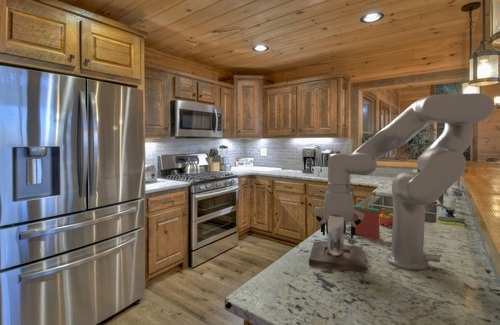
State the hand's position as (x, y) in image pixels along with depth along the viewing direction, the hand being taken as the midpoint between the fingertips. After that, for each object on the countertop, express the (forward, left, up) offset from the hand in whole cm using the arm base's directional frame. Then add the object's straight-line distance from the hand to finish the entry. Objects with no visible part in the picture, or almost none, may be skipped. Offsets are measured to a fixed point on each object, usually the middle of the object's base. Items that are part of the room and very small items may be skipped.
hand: (337, 235), depth 99 cm
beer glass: (+1, 0, -7) cm, 8 cm away
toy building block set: (-19, -44, -9) cm, 49 cm away
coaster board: (0, 0, -8) cm, 8 cm away
